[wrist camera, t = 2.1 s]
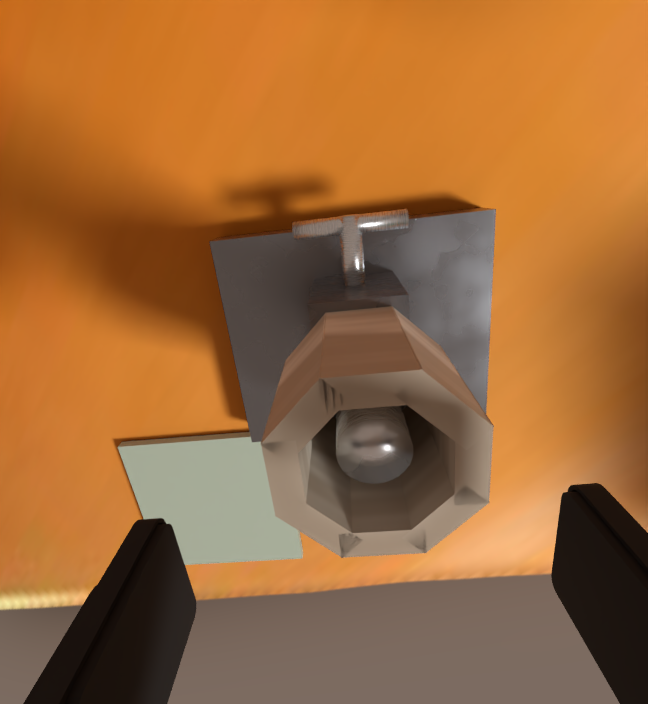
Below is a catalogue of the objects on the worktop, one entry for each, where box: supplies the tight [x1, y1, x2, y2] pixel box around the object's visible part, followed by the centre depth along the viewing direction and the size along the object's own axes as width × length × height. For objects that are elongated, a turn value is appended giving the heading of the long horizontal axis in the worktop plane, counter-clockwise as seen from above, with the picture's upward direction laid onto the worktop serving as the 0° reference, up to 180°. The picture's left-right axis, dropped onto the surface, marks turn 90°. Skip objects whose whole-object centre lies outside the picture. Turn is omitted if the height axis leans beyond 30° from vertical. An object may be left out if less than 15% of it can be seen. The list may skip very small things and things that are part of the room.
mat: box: [118, 432, 303, 565], centre depth 28 cm, size 11×11×1 cm
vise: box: [210, 208, 496, 484], centre depth 18 cm, size 14×13×12 cm
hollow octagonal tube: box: [260, 306, 494, 558], centre depth 14 cm, size 6×6×6 cm
